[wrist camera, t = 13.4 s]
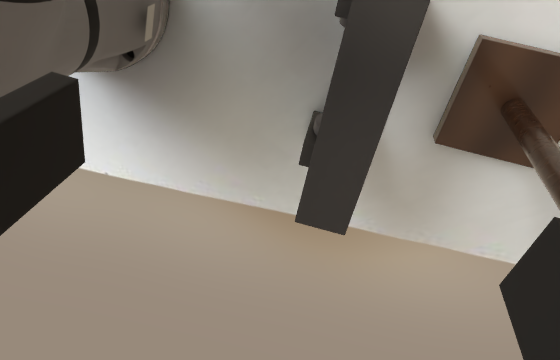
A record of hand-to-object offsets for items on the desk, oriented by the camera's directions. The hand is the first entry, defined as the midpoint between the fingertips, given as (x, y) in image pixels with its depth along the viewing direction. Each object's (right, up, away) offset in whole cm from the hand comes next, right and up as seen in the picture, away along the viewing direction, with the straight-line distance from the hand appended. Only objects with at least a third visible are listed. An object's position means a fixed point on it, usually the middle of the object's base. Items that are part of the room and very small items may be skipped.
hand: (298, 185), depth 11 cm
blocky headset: (+7, +11, +26) cm, 29 cm away
